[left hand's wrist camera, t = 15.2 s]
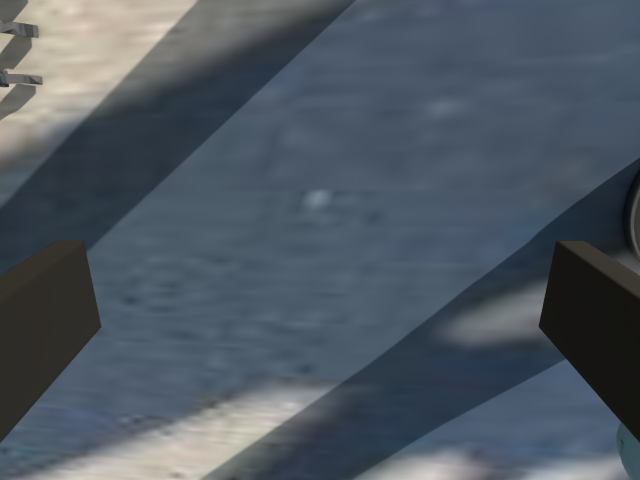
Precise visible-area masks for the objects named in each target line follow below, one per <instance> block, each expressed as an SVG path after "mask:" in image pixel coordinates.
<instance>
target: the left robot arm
mask: <svg viewBox="0 0 640 480" xmlns="http://www.w3.org/2000/svg"><path fill="white" fill-rule="evenodd" d="M624 232H625V236H626V240H627V243H628V245H629V247H630V249H631V251H632V253H633V254H634V256H635V257H636V258H637V259H638V260H639V261H640V172H639V174H638V175H637V177H636V179H635V181H634V183H633V185H632V187H631V189H630V192H629V194H628V197H627V201H626V205H625V210H624ZM100 328H101V323H100V318H99V313H98V308H97V303H96V298H95V294H94V289H93V284H92V279H91V274H90V269H89V265H88V260H87V255H86V250H85V245H84V241H55V242H54V243H52V244H50V245H49V246H47V247H46V248H44V249H42V250H41V251H39V252H38V253H36V254H34V255H33V256H31V257H30V258H28V259H26V260H25V261H23V262H22V263H20V264H18V265H17V266H15V267H14V268H12V269H11V270H9V271H7V272H6V273H4V274H3V275H1V276H0V443H1V442H2V440H3V439H4V438H5V437H6V436H7V435H8V434H9V432H10V431H11V430H12V429H13V428H14V427H15V425H16V424H17V423H18V422H19V421H20V420H21V419H22V417H23V416H24V415H25V414H26V413H27V412H28V411H29V409H30V408H31V407H32V406H33V405H34V404H35V402H36V401H37V400H38V399H39V398H40V397H41V396H42V394H43V393H44V392H45V391H46V390H47V389H48V388H49V386H50V385H51V384H52V383H53V382H54V381H55V379H56V378H57V377H58V376H59V375H60V374H61V373H62V371H63V370H64V369H65V368H66V367H67V366H68V365H69V363H70V362H71V361H72V360H73V359H74V358H75V356H76V355H77V354H78V353H79V352H80V351H81V350H82V348H83V347H84V346H85V345H86V344H87V343H88V342H89V340H90V339H91V338H92V337H93V336H94V335H95V333H96V332H97V331H98V330H99V329H100ZM539 328H540V329H541V330H542V331H543V332H544V333H545V335H546V336H547V337H548V338H549V339H550V340H551V342H552V343H553V344H554V345H555V346H556V347H557V348H558V350H559V351H560V352H561V353H562V354H563V355H564V356H565V358H566V359H567V360H568V361H569V362H570V363H571V365H572V366H573V367H574V368H575V369H576V370H577V371H578V373H579V374H580V375H581V376H582V377H583V378H584V379H585V381H586V382H587V383H588V384H589V385H590V386H591V388H592V389H593V390H594V391H595V392H596V393H597V394H598V396H599V397H600V398H601V399H602V400H603V401H604V402H605V404H606V405H607V406H608V407H609V408H610V409H611V411H612V412H613V413H614V414H615V415H616V416H617V417H618V419H619V420H620V421H621V424H620V425H619V428H618V431H617V436H616V442H617V449H618V452H619V454H620V457H621V460H622V464H623V466H624V468H625V470H626V472H627V474H628V476H629V478H630V480H640V276H639V275H637V274H636V273H634V272H633V271H631V270H629V269H628V268H626V267H625V266H623V265H622V264H620V263H618V262H617V261H615V260H614V259H612V258H610V257H609V256H607V255H606V254H604V253H602V252H601V251H599V250H598V249H596V248H594V247H593V246H591V245H590V244H588V243H586V242H585V241H556V245H555V250H554V255H553V260H552V265H551V269H550V274H549V279H548V284H547V289H546V294H545V298H544V303H543V308H542V313H541V318H540V323H539Z"/></svg>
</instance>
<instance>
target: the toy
mask: <svg viewBox="0 0 640 480" xmlns="http://www.w3.org/2000/svg"><path fill="white" fill-rule="evenodd" d="M0 33H7V34H14V35H21V36H28V37H35V38H38V26H36V25H30V24H23V23H17V22H9V21H3V20H0ZM14 83H28V84H41V85H42V77H38V76H31V75H24V74H8V73H7V71H4V70H0V87H9V84H14Z"/></svg>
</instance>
